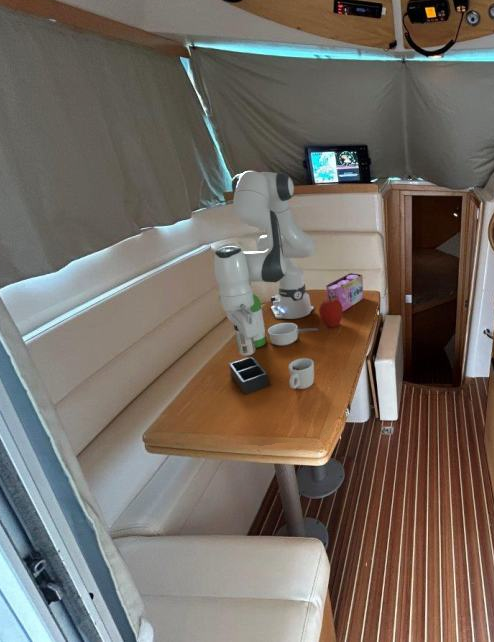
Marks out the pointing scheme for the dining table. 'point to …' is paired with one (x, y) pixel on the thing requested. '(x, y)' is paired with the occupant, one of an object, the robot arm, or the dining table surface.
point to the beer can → (242, 347)
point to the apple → (331, 312)
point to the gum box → (346, 290)
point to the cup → (301, 373)
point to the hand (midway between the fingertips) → (245, 340)
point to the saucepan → (285, 333)
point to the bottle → (258, 322)
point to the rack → (249, 374)
